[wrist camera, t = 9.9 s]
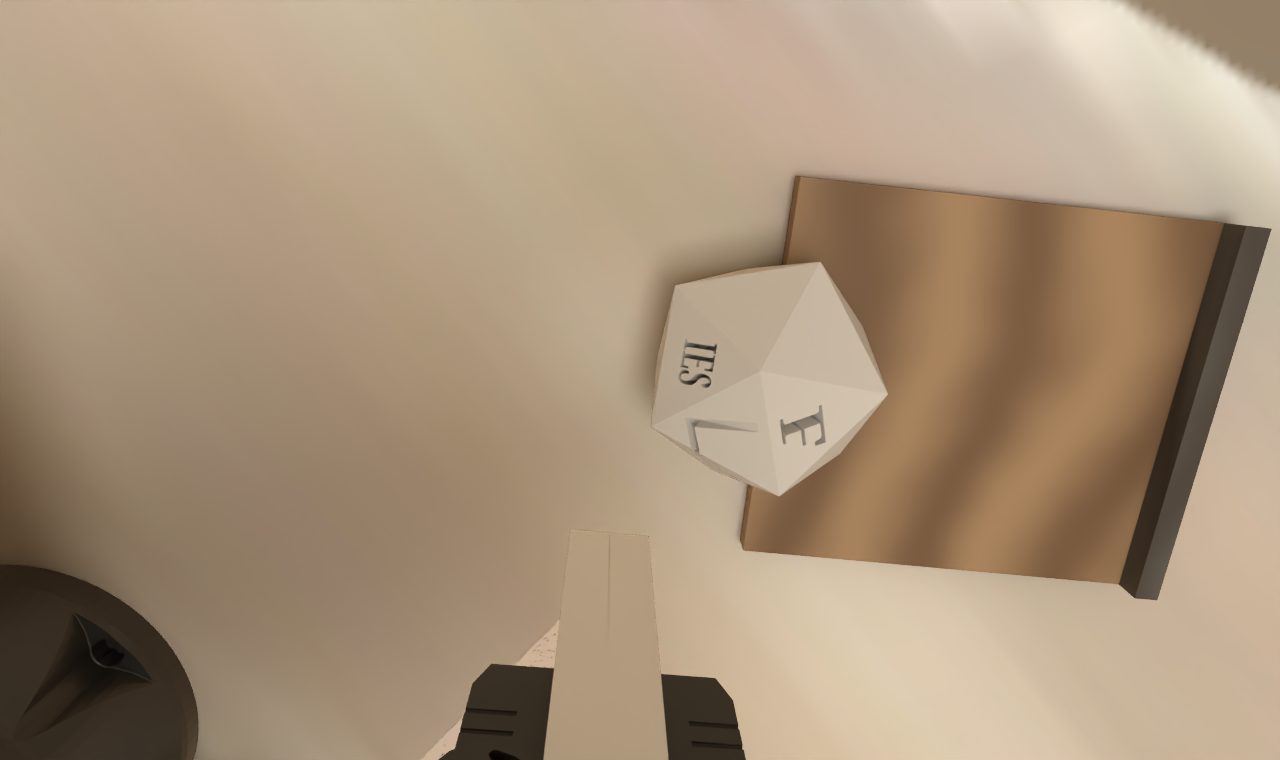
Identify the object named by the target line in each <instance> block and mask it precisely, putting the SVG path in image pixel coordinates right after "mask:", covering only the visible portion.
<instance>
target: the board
mask: <svg viewBox="0 0 1280 760" xmlns="http://www.w3.org/2000/svg"><path fill="white" fill-rule="evenodd" d="M1270 232H1271V229H1269V228H1261V227H1252V226H1244V225H1235V224H1227V223H1217V222H1208V221H1199V220H1190V219H1181V218H1172V217H1163V216H1154V215H1145V214H1136V213H1127V212H1118V211H1109V210H1099V209H1090V208H1081V207H1072V206H1063V205H1054V204H1045V203H1036V202H1027V201H1018V200H1009V199H1000V198H991V197H981V196H972V195H963V194H954V193H945V192H936V191H927V190H918V189H909V188H900V187H891V186H882V185H873V184H864V183H854V182H845V181H836V180H827V179H818V178H809V177H800V176H796V177H795V184H794V190H793V197H792V203H791V210H790V217H789V223H788V230H787V236H786V243H785V249H784V256H783V263H782V265H790V264H801V263H812V262H821V263H822V265H823V266H824V268H825V269H826V271H827V273H828V274H829V276H830V277H831V279H832V280H833V282H834V283H835V285H836V286H837V288H838V289H839V291H840V292H841V294H842V296H843V297H844V299H845V300H846V302H847V303H848V305H849V306H850V308H851V309H852V311H853V312H854V314H855V315H856V317H857V319H858V320H859V322H860V323H861V325H862V326H863V329H864V331H865V334H866V337H867V339H868V342H869V345H870V347H871V350H872V353H873V355H874V358H875V361H876V363H877V366H878V369H879V371H880V374H881V377H882V379H883V382H884V385H885V387H886V390H887V393H888V395H887V396H886V398H885V399H884V400H883V401H882V402H881V404H880V405H879V406H878V407H877V409H876V410H875V411H874V412H873V414H872V415H871V416H870V417H869V419H868V420H867V421H866V422H865V423H864V425H863V426H862V427H861V428H860V430H859V431H858V432H857V433H856V435H855V436H854V437H853V438H852V439H851V441H850V442H849V443H848V444H847V446H846V447H845V448H844V449H843V451H842V452H841V453H840V454H839V455H837V456H836V457H835V458H833V459H832V460H830V461H829V462H827V463H826V464H825V465H823V466H822V467H820V468H819V469H817V470H816V471H815V472H813V473H812V474H810V475H809V476H808V477H806V478H805V479H803V480H802V481H800V482H799V483H798V484H796V485H795V486H793V487H792V488H790V489H789V490H788V491H786V492H785V493H783V494H782V495H781V496H777V495H774V494H772V493H769V492H767V491H764V490H762V489H759V488H757V487H754V486H752V485H749V486H748V492H747V499H746V505H745V512H744V518H743V525H742V531H741V538H740V541H741V544H742V548H743V550H745V551H756V552H768V553H779V554H790V555H801V556H812V557H823V558H834V559H845V560H856V561H867V562H879V563H890V564H901V565H912V566H923V567H934V568H945V569H956V570H967V571H979V572H990V573H1001V574H1012V575H1023V576H1034V577H1045V578H1056V579H1067V580H1078V581H1090V582H1101V583H1112V584H1119V585H1120V586H1122V587H1123V588H1124V589H1125V590H1126V591H1127V592H1128V593H1130V594H1131V595H1132V596H1133V597H1134V598H1138V599H1149V600H1157V599H1158V596H1159V593H1160V589H1161V586H1162V583H1163V580H1164V576H1165V573H1166V570H1167V567H1168V563H1169V560H1170V557H1171V554H1172V550H1173V547H1174V544H1175V541H1176V537H1177V534H1178V531H1179V528H1180V524H1181V521H1182V518H1183V515H1184V511H1185V508H1186V505H1187V502H1188V498H1189V495H1190V492H1191V489H1192V485H1193V482H1194V479H1195V476H1196V472H1197V469H1198V466H1199V463H1200V459H1201V456H1202V453H1203V450H1204V446H1205V443H1206V440H1207V437H1208V433H1209V430H1210V427H1211V424H1212V420H1213V417H1214V414H1215V411H1216V407H1217V404H1218V401H1219V398H1220V394H1221V391H1222V388H1223V385H1224V381H1225V378H1226V375H1227V372H1228V368H1229V365H1230V362H1231V359H1232V355H1233V352H1234V349H1235V346H1236V342H1237V339H1238V336H1239V333H1240V329H1241V326H1242V323H1243V320H1244V316H1245V313H1246V310H1247V307H1248V303H1249V300H1250V297H1251V294H1252V290H1253V287H1254V284H1255V281H1256V277H1257V274H1258V271H1259V268H1260V264H1261V261H1262V258H1263V255H1264V251H1265V248H1266V245H1267V242H1268V238H1269V235H1270Z"/></svg>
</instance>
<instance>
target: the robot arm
mask: <svg viewBox="0 0 1280 760" xmlns="http://www.w3.org/2000/svg"><path fill="white" fill-rule="evenodd" d="M197 740H198V713H197V706H196V701H195V697H194V693H193V690H192V687H191V684H190V681H189V679H188V677H187V675H186V672H185V670H184V668H183V667H182V665H181V663H180V661H179V659H178V658H177V656H176V655H175V653H174V652H173V650H172V649H171V647H170V646H169V645H168V643H167V642H166V641H165V640H164V638H163V637H162V636H161V635H160V634H159V633H158V632H157V630H156V629H155V628H154V627H153V626H152V625H151V624H150V623H149V622H147V621H146V620H145V619H144V618H143V617H142V616H141V615H140V614H138V613H137V612H136V611H135V610H133V609H132V608H131V607H129V606H128V605H127V604H125V603H124V602H122V601H121V600H119V599H118V598H116V597H114V596H113V595H111V594H109V593H108V592H106V591H104V590H102V589H100V588H98V587H96V586H94V585H92V584H90V583H87V582H85V581H83V580H80V579H77V578H75V577H72V576H69V575H66V574H63V573H59V572H55V571H51V570H47V569H42V568H36V567H29V566H21V565H0V760H193V758H194V755H195V751H196V746H197ZM439 760H746V759H745V754H744V750H742V740H741V736H740V731H739V729H738V722H737V717H736V713H735V708H734V704H733V700H732V699H731V697H730V696H729V695H728V694H727V692H726V691H725V690H724V689H723V687H722V686H721V685H720V684H719V682H718V681H717V680H716V679H715V678H706V677H692V676H679V675H665V674H661V670H660V659H659V648H658V636H657V625H656V614H655V603H654V592H653V580H652V569H651V558H650V547H649V536H642V535H631V534H619V533H607V532H595V531H583V530H571V529H570V538H569V546H568V555H567V563H566V572H565V580H564V589H563V597H562V606H561V614H560V623H559V631H558V640H557V648H556V657H555V665H554V669H553V668H540V667H526V666H513V665H499V664H491V665H490V666H489V667H488V668H487V669H486V670H485V671H484V672H483V673H482V674H481V675H480V676H479V677H478V678H477V680H476V681H475V682H474V683H473V684H472V687H471V691H470V695H469V699H468V702H467V706H466V712H465V714H464V717H463V721H462V725H461V730H460V733H459V736H458V740H457V743H456V747H455V749H454V750H451V751H449V752H448V753H446V754H445V755H444V756H443V757H441V758H440V759H439Z"/></svg>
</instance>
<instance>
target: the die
mask: <svg viewBox="0 0 1280 760" xmlns="http://www.w3.org/2000/svg"><path fill="white" fill-rule="evenodd" d="M887 395H888V393H887V390H886V387H885V385H884V382H883V379H882V377H881V374H880V371H879V369H878V366H877V363H876V361H875V358H874V355H873V353H872V350H871V347H870V345H869V342H868V339H867V337H866V334H865V331H864V329H863V326H862V325H861V323H860V322H859V320H858V319H857V317H856V315H855V314H854V312H853V311H852V309H851V308H850V306H849V305H848V303H847V302H846V300H845V299H844V297H843V296H842V294H841V292H840V291H839V289H838V288H837V286H836V285H835V283H834V282H833V280H832V279H831V277H830V276H829V274H828V273H827V271H826V269H825V268H824V266H823V265H822V263H821V262H812V263H801V264H790V265H779V266H768V267H757V268H749V269H743V270H738V271H734V272H730V273H726V274H721V275H717V276H713V277H709V278H704V279H700V280H696V281H692V282H687V283H683V284H679V285H675V288H674V292H673V296H672V300H671V304H670V308H669V312H668V316H667V320H666V324H665V328H664V332H663V336H662V340H661V344H660V348H659V352H658V356H657V364H656V375H655V386H654V396H653V407H652V418H651V427H652V428H653V429H655V430H656V431H658V432H659V433H660V434H662V435H663V436H665V437H666V438H668V439H669V440H670V441H672V442H673V443H675V444H676V445H677V446H679V447H680V448H682V449H683V450H685V451H686V452H687V453H689V454H690V455H692V456H693V457H695V458H696V459H697V460H699V461H700V462H702V463H703V464H705V465H706V466H707V467H709V468H710V469H712V470H714V471H716V472H719V473H721V474H724V475H726V476H729V477H731V478H734V479H736V480H739V481H742V482H744V483H747V484H749V485H752V486H754V487H757V488H759V489H762V490H764V491H767V492H769V493H772V494H774V495H777V496H781V495H782V494H783V493H785V492H786V491H788V490H789V489H790V488H792V487H793V486H795V485H796V484H798V483H799V482H800V481H802V480H803V479H805V478H806V477H808V476H809V475H810V474H812V473H813V472H815V471H816V470H817V469H819V468H820V467H822V466H823V465H825V464H826V463H827V462H829V461H830V460H832V459H833V458H835V457H836V456H837V455H839V454H840V453H841V452H842V451H843V449H844V448H845V447H846V446H847V444H848V443H849V442H850V441H851V439H852V438H853V437H854V436H855V435H856V433H857V432H858V431H859V430H860V428H861V427H862V426H863V425H864V423H865V422H866V421H867V420H868V419H869V417H870V416H871V415H872V414H873V412H874V411H875V410H876V409H877V407H878V406H879V405H880V404H881V402H882V401H883V400H884V399H885V398H886V396H887Z"/></svg>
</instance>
